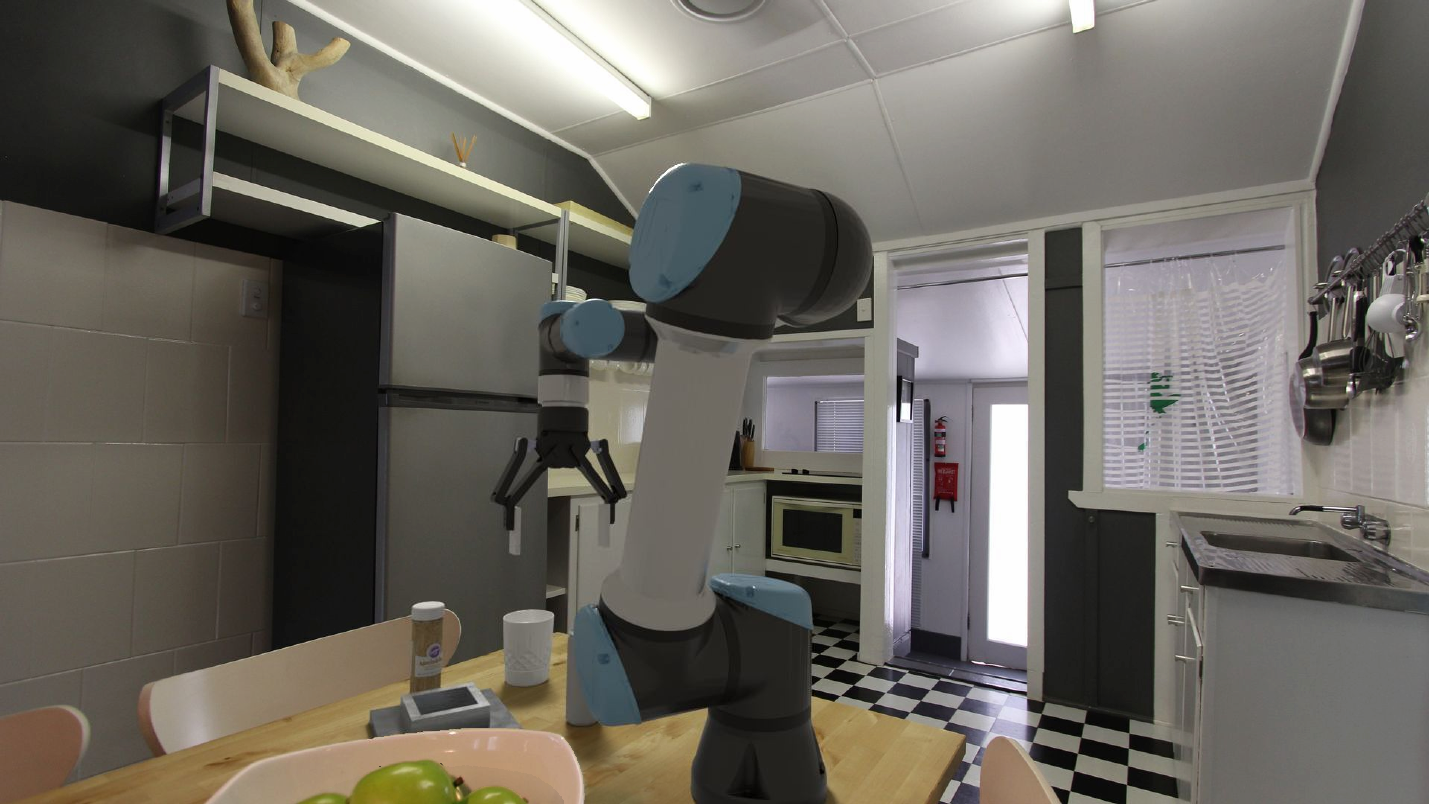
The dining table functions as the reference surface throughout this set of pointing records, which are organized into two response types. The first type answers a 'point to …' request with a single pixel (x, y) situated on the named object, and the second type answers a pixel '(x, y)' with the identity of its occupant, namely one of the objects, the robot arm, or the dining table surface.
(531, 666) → the white cup
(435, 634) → the sprinkles bottle
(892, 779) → the dining table surface
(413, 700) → the gray square base
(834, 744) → the dining table surface
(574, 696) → the beverage can
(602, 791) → the dining table surface
